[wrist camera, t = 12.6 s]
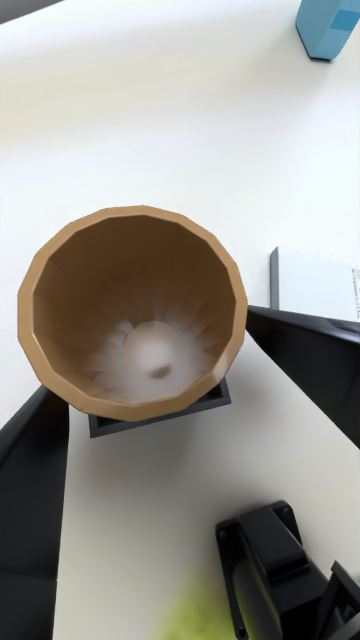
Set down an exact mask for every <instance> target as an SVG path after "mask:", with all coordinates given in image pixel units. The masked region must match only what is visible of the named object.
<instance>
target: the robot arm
mask: <svg viewBox="0 0 360 640" xmlns="http://www.w3.org/2000/svg"><path fill="white" fill-rule="evenodd" d="M245 329H246V330H247V332H248V333H249V334H250V336H251V337H252V338H253V339H254V341H255V342H256V343H257V344H258V346H259V347H260V348H261V349H262V350H263V351H264V352H265V353H266V354H267V355H268V356H269V357H270V358H271V359H272V360H273V361H274V362H275V363H276V364H277V365H278V366H279V367H280V368H281V369H282V370H283V371H284V372H285V373H286V375H287V376H288V377H289V378H290V379H291V380H292V381H293V382H294V383H295V384H296V385H297V386H298V387H299V388H300V389H301V390H302V391H303V392H304V393H305V394H306V395H307V396H308V397H309V398H310V399H311V400H312V401H313V402H314V403H315V404H316V405H317V406H318V407H319V408H320V409H321V410H322V411H323V412H324V413H325V414H326V415H327V416H328V418H329V419H330V420H331V421H332V422H334V424H335V425H336V426H337V427H338V428H339V429H340V430H341V431H342V432H343V433H344V434H345V435H346V436H347V437H348V438H349V439H350V440H351V441H352V442H353V443H354V444H355V445H356V446H357V447H358V448H359V449H360V322H354V321H347V320H340V319H333V318H325V317H321V316H314V315H308V314H302V313H296V312H289V311H283V310H277V309H271V308H265V307H258V306H252V305H248V307H247V316H246V325H245ZM68 442H69V403H68V402H66V401H65V400H63V399H62V398H61V397H59V396H58V395H57V394H55V393H54V392H53V391H51V390H50V389H48V388H47V387H46V386H44V385H43V384H42V385H41V386H40V387H39V388H38V390H37V391H36V392H35V393H34V394H33V395H32V396H31V397H30V398H29V399H28V400H27V402H26V403H25V404H24V405H23V406H22V407H21V408H20V409H19V410H18V411H17V412H16V414H15V415H14V416H13V417H12V418H11V419H10V420H9V421H8V422H7V423H6V424H5V426H4V427H3V428H2V429H1V430H0V640H52V639H53V627H54V615H55V603H56V590H57V576H58V564H59V551H60V539H61V527H62V515H63V503H64V490H65V478H66V466H67V454H68ZM286 508H287V511H286V512H284V510H285V509H286ZM221 531H224V533H223V534H222V535H219V534H220V532H221ZM215 537H216V542H217V548H218V553H219V558H220V563H221V568H222V573H223V578H224V583H225V588H226V593H227V598H228V603H229V608H230V613H231V618H232V623H233V628H234V631H235V635H236V638H237V639H238V640H249V639H250V640H360V583H359V582H358V581H357V580H356V579H355V578H354V577H353V576H352V575H351V574H350V573H349V572H347V571H346V570H345V569H344V568H343V567H342V566H341V565H340V564H339V563H338V562H337V561H336V560H335V561H334V564H333V566H332V568H331V571H332V572H333V573H332V575H331V577H330V580H328V579H327V578H326V577H325V575H324V574H323V573H322V572H321V570H320V569H319V568H318V567H317V566H316V564H315V563H314V562H313V561H312V559H311V558H310V557H309V556H308V554H307V553H306V551H305V550H304V548H303V544H302V541H301V537H300V534H299V530H298V527H297V523H296V520H295V516H294V513H293V509H292V507H291V506H290V505H289V504H288V503H287V502H285V501H282V502H279V503H276V504H273V505H271V506H265V507H262V508H259V509H256V510H253V511H250V512H248V513H245V514H242V515H240V516H239V517H236V518H233V519H230V520H227V521H225V522H222V523H219V524H217V526H216V527H215ZM241 627H243V628H242V629H240V628H241Z"/></svg>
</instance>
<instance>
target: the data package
mask: <svg viewBox="0 0 360 640" xmlns="http://www.w3.org/2000/svg"><path fill="white" fill-rule="evenodd" d="M359 18H360V0H302V2H301V4H300V7H299V10H298V14H297V18H296V26H297V28H298V31H299V33H300V35H301V38H302V40H303V42H304V45H305V47H306V49H307V52H308V54H309V56H310V57H314V58H323V59H334V58H335V57H336V56H337V55H338V54H339V53H340V51H341V50H342V48H343V46H344V45H345V43H346V41H347V39H348V38H349V36H350V34H351V32H352V31H353V29H354V27H355V25H356V24H357V22H358V20H359Z"/></svg>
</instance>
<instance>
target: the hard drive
mask: <svg viewBox="0 0 360 640" xmlns="http://www.w3.org/2000/svg"><path fill="white" fill-rule="evenodd" d="M271 309H277V310H283V311H289V312H296V313H302V314H308V315H314V316H321V317H325V318H333V319H340V320H347V321H354V322H360V262H358V261H353V260H348V259H342V258H337V257H332V256H326V255H321V254H316V253H311V252H305V251H299V250H294V249H288V248H283V247H276V248H275V249H274V250H273V252H272V253H271Z"/></svg>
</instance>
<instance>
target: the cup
mask: <svg viewBox="0 0 360 640" xmlns="http://www.w3.org/2000/svg"><path fill="white" fill-rule="evenodd" d="M17 299H18V338H19V339H18V341H19V342H20V344H21V346H22V348H23V350H24V352H25V354H26V356H27V358H28V360H29V362H30V364H31V366H32V368H33V370H34V372H35V374H36V376H37V378H38V380H39V381H41V383H42V384H43V385H44V386H46V387H47V388H48V389H50V390H51V391H53V392H54V393H55V394H57V395H58V396H59V397H61V398H62V399H63V400H65V401H66V402H68V403H69V404H70V405H72V406H73V407H74V408H76V409H77V410H78V411H80V412H81V411H82V412H83V413H86V414H92V415H97V416H102V417H108V418H113V419H118V420H124V421H129V422H133V421H134V422H136V421H140V420H145V419H149V418H153V417H157V416H161V415H165V414H169V413H174V412H178V411H182V410H183V409H186V408H187V407H188V406H190V405H191V404H192V403H194V402H195V401H196V400H197V399H199V398H200V397H201V396H203V395H204V394H205V393H207V392H208V391H209V390H211V389H212V388H213V387H215V386H216V385H217V384H219V383H220V382H221V380H223V378H224V376H225V375H226V373H227V371H228V369H229V368H230V366H231V364H232V362H233V360H234V359H235V357H236V355H237V353H238V352H239V350H240V348H241V346H242V344H243V341H244V335H245V325H246V316H247V307H248V302H247V301H248V300H247V296H246V293H245V290H244V286H243V283H242V280H241V276H240V273H239V269H238V266H237V264H236V263H235V261H234V260H233V259H232V257H231V256H230V255H229V253H228V252H227V251H226V250H225V248H224V247H223V246H222V244H221V243H220V242H219V241H218V239H217V238H216V237H215V236H214V235H213V234H212V233H210V232H209V231H207V230H206V229H204V228H203V227H201V226H199V225H198V224H196V223H195V222H193V221H192V220H190V219H188V218H187V217H185V216H184V215H181V214H178V213H174V212H170V211H166V210H162V209H158V208H154V207H150V206H144V205H141V206H127V207H113V208H106V209H102V210H99V211H97V212H95V213H92V214H90V215H88V216H85V217H83V218H80V219H78V220H76V221H73V222H71V223H69V224H68V225H66V226H65V227H63V228H62V229H61V230H60V231H59V232H58V233H57V234H56V235H55V236H54V237H53V238H52V239H50V240H49V241H48V242H47V243H46V244H45V245H44V246H43V247H42V248H41V249H40V250H39V251H37V254H35V256H34V258H33V260H32V263H31V265H30V267H29V269H28V271H27V273H26V275H25V278H24V280H23V282H22V284H21V286H20V288H19V291H18V294H17Z"/></svg>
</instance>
